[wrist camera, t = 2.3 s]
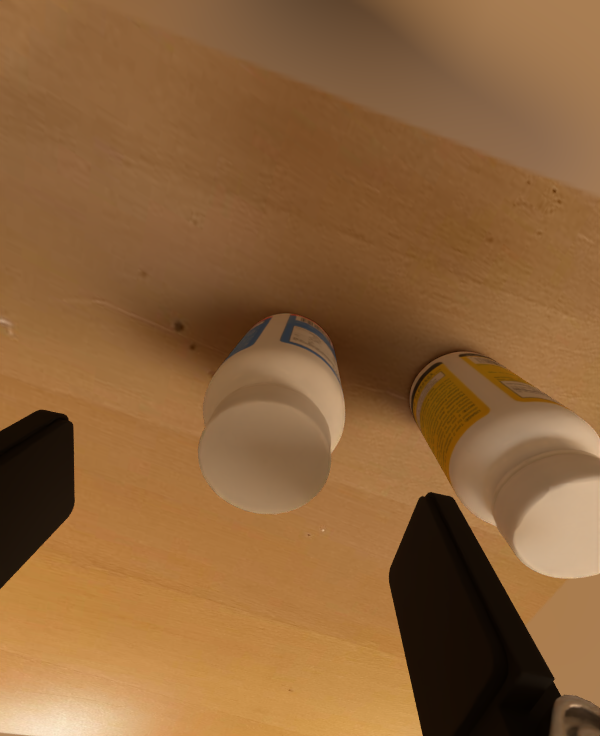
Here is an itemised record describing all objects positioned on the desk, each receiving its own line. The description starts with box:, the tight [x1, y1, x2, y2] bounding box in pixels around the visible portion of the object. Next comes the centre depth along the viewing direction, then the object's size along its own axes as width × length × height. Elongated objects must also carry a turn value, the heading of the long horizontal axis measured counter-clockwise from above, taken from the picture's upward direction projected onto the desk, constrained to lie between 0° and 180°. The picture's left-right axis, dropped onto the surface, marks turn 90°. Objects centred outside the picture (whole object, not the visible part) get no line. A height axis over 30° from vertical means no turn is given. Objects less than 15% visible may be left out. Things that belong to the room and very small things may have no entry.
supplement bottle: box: [410, 352, 600, 578], centre depth 14 cm, size 5×5×10 cm
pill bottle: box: [198, 313, 345, 514], centre depth 14 cm, size 6×5×10 cm
